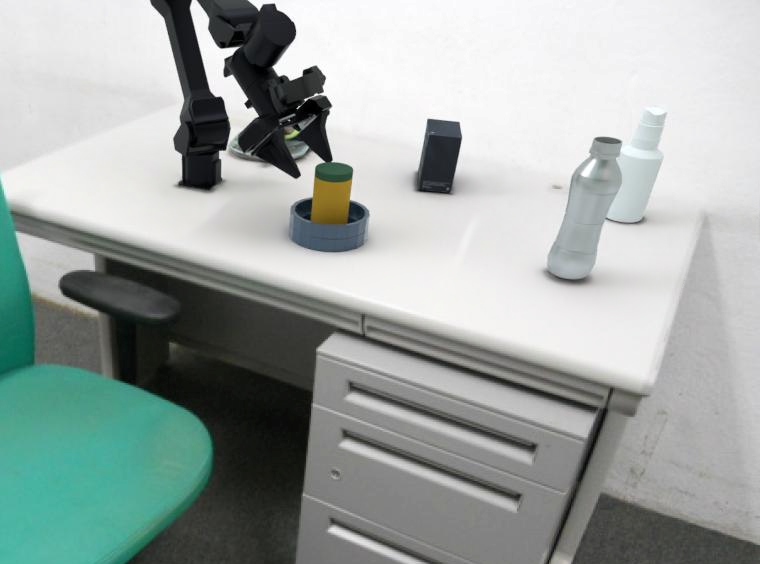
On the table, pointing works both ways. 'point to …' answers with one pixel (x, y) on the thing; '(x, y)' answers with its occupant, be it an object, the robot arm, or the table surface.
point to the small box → (439, 155)
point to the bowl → (328, 228)
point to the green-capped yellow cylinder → (331, 193)
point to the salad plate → (291, 141)
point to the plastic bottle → (586, 210)
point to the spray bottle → (639, 167)
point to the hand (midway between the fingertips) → (315, 169)
